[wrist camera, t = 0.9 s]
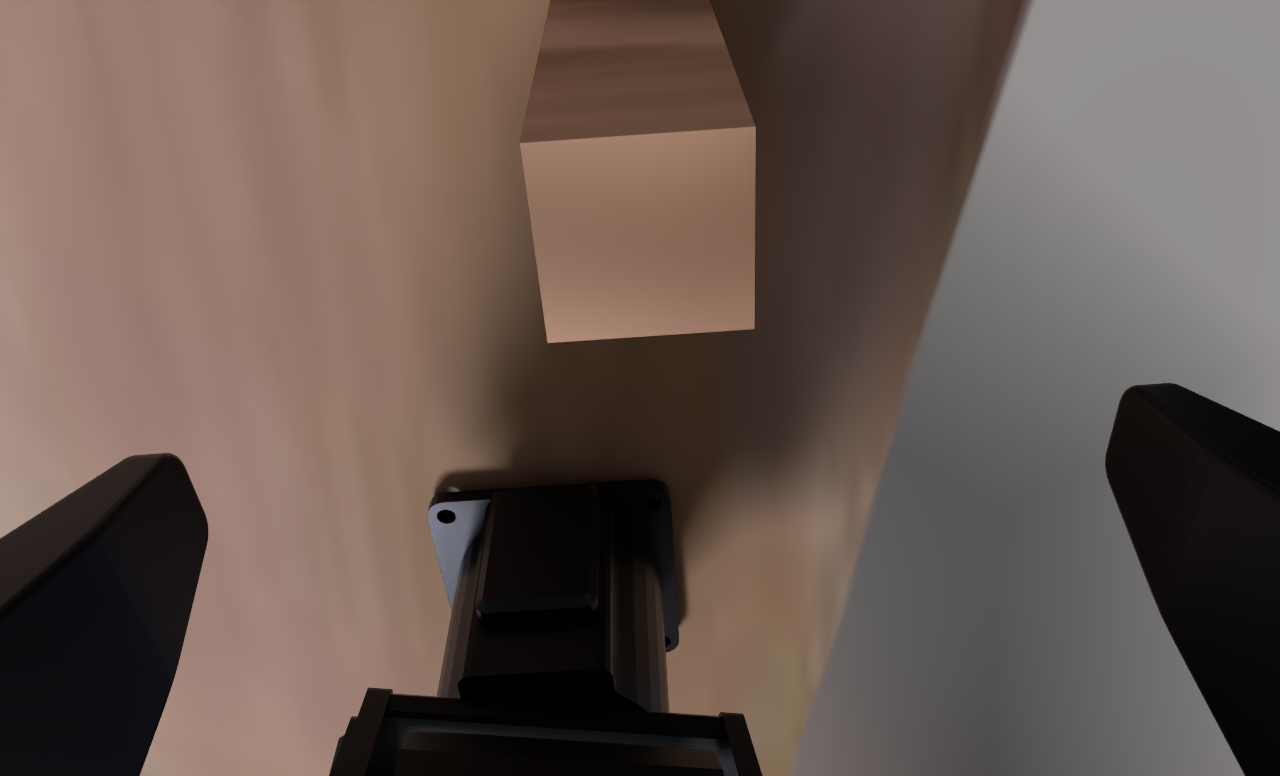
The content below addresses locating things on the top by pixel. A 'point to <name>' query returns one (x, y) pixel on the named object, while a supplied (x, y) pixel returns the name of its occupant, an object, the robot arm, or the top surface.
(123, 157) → the top surface
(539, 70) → the brown wooden block
